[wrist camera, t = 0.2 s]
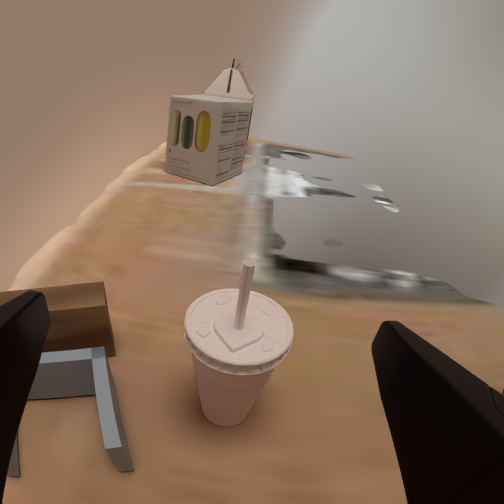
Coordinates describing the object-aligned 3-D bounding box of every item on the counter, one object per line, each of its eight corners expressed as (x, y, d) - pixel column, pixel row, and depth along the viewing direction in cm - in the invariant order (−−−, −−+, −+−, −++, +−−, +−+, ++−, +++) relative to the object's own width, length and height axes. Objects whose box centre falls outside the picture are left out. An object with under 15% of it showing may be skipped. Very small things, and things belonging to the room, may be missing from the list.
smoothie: (174, 429, 20) (164, 280, 13) (196, 367, 26) (206, 218, 19) (259, 449, 20) (315, 313, 13) (269, 384, 25) (314, 240, 18)
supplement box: (163, 172, 67) (169, 95, 58) (197, 161, 78) (204, 94, 69) (212, 186, 63) (222, 101, 54) (242, 173, 74) (253, 101, 65)
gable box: (243, 160, 84) (259, 61, 70) (195, 154, 83) (207, 55, 69) (246, 144, 103) (259, 65, 89) (208, 139, 102) (219, 60, 88)
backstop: (115, 355, 25) (105, 305, 22) (7, 365, 20) (-18, 316, 17) (112, 331, 27) (103, 281, 24) (10, 341, 23) (-11, 293, 20)
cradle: (133, 470, 16) (121, 446, 14) (8, 475, 12) (-23, 450, 10) (114, 382, 22) (103, 346, 20) (8, 390, 18) (-14, 355, 16)
